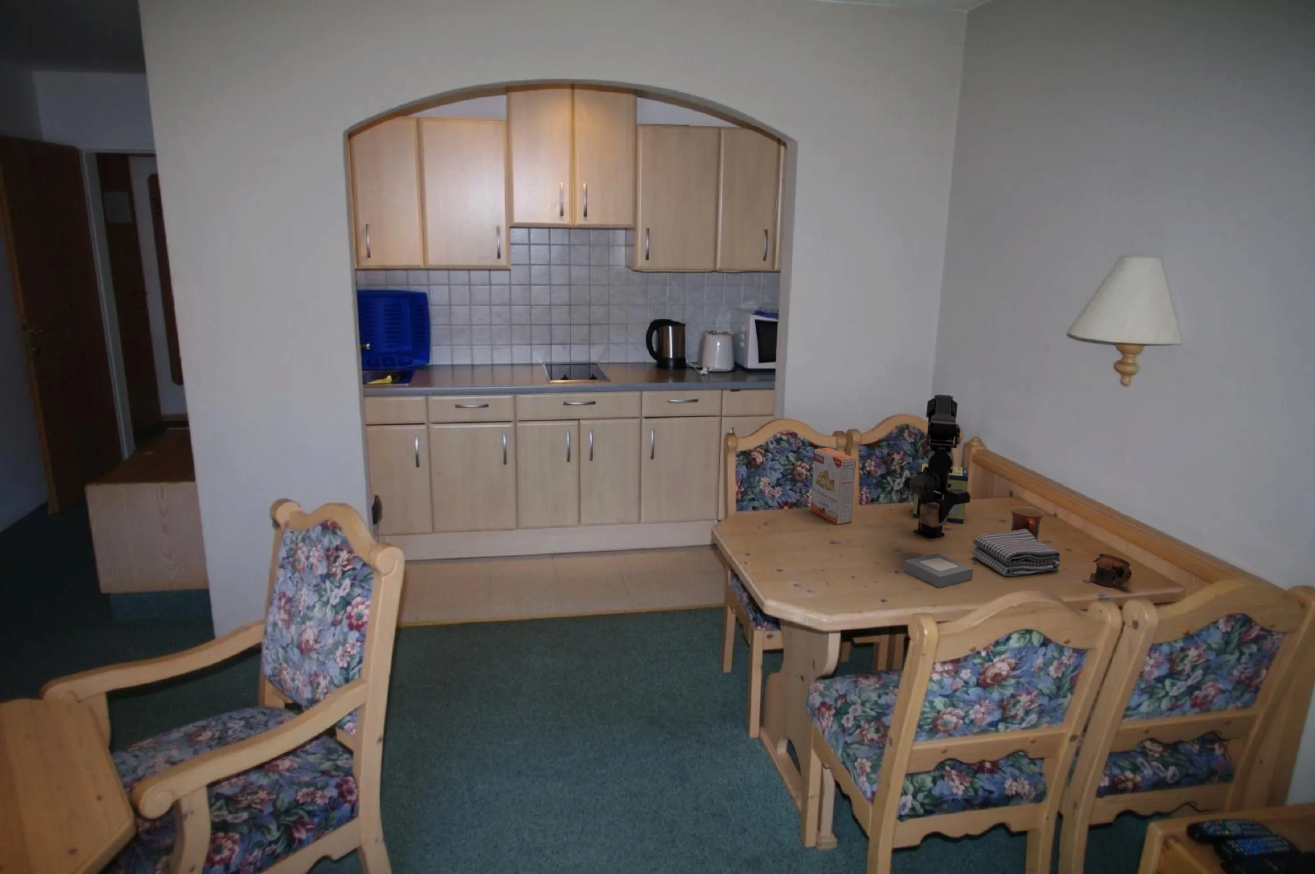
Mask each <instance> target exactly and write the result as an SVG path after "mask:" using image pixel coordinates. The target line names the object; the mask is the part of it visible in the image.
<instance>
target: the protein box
mask: <svg viewBox="0 0 1315 874" xmlns="http://www.w3.org/2000/svg"><path fill="white" fill-rule="evenodd" d="M924 467H928V463H922V462H921V463H920V462H918V463H917V466H916V474H915V476H917V475H921V474H922V473H923V469H924ZM951 469H953V473H949V480H948V483H950V484H951V488H947V489H948V490H953V489H961V490H964V491H967V492H968V485H969V484H968V481H969V473H968V467H962V466H953V465H952V467H951ZM917 503H918V496H917V495H916V494H915V493H913V505H912V506H913V508H912V509H913V510H912V518H913V519H918V520H919V514H918V515H917ZM966 504H967V503H964V504H958V505H954V506H953V508H952V509H951V510H950V512H949V515H948V516H947V522H946V523H952V524H959V525H960V524H961V525H962V524H964V521H965V520H964V519H965V512H966V511H965V510H966Z"/></svg>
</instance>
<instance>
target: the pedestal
mask: <svg viewBox="0 0 1315 874" xmlns="http://www.w3.org/2000/svg"><path fill="white" fill-rule="evenodd" d="M903 571H904V573H908V574H909V575H911V576H914V577H915V578H918V579H920V580H921V581H923V582H926V583H928V584H930V585H932V586H934V587H937V588H938V589H940V588H943V587H948V586H951V585H956V584H960V583H964V582H967V581H972V580H973V574H974V568H972V567H971V566H969V565H966V564H964V563H962V562H959V561H956V560H955V559H952V558H950V557H947V556H945V555H943V554H942V553H941V554H940V553H932V554H927V555H924V556H920V557H916V558H910V559H906V560H904V570H903Z"/></svg>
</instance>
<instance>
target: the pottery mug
mask: <svg viewBox="0 0 1315 874" xmlns="http://www.w3.org/2000/svg"><path fill="white" fill-rule="evenodd" d="M1098 555H1099V557H1098V558H1097V557H1096V559H1094V560H1093V562H1092V563H1095V566H1096V567H1095V572H1091V573H1090V575H1089V581H1090V582H1093V583H1097V584H1099V585H1102V586H1105V587H1107V588H1109V589H1110V588H1112V585H1113V584H1114V583H1115V585H1116V586H1119V587H1120V586H1123V585H1124V584H1125V583H1126V582H1128V581H1129V580H1131V577H1132V570H1131V568H1130V566H1131V563H1130V562H1129V561H1127V560H1125V559H1123V558H1121V557H1118V556H1115V555H1112V554H1106V553H1100V554H1098Z"/></svg>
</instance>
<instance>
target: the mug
mask: <svg viewBox="0 0 1315 874" xmlns="http://www.w3.org/2000/svg"><path fill="white" fill-rule="evenodd" d="M1010 513H1011V518H1012V522H1011V529H1010V531H1015V530H1016V531H1017V530H1021V529H1027V530H1028V531H1029V532H1030V533H1031V534H1032V535H1033V536H1034V537H1035V538H1036V539H1037V541H1039V533H1040V525H1041V521H1042V519H1043V517H1044V516H1045V513H1044V512H1043V511H1042V510H1041V509H1037V508H1034V507H1031V506H1030V507H1028V506H1013V507H1012V508H1011V509H1010Z"/></svg>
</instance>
